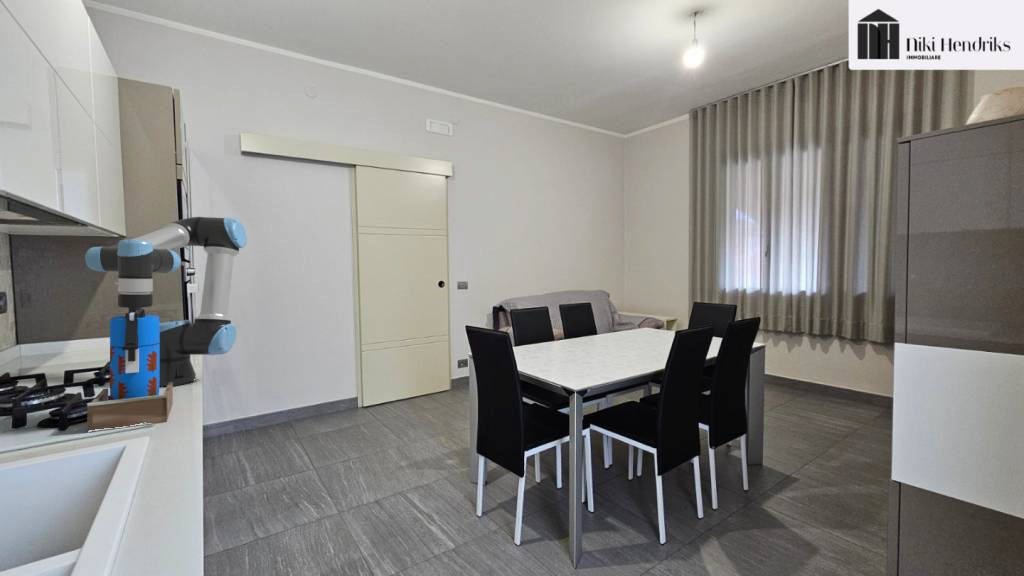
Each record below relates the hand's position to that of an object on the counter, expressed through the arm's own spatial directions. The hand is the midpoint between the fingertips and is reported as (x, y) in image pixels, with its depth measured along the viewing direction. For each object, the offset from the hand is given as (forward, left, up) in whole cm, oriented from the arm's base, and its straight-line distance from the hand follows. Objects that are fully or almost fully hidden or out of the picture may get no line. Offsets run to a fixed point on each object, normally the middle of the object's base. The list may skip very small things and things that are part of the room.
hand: (135, 368), depth 123 cm
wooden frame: (+2, +1, -14) cm, 14 cm away
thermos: (0, 0, -10) cm, 10 cm away
